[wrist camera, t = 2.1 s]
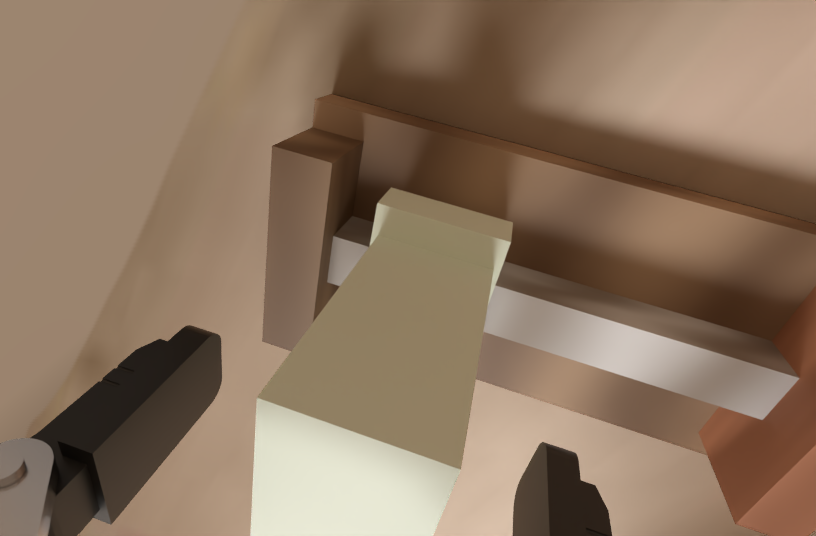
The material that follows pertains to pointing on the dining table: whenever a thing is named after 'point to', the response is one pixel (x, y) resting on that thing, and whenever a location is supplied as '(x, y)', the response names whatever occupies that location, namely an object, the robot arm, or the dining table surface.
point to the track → (541, 236)
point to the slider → (381, 381)
